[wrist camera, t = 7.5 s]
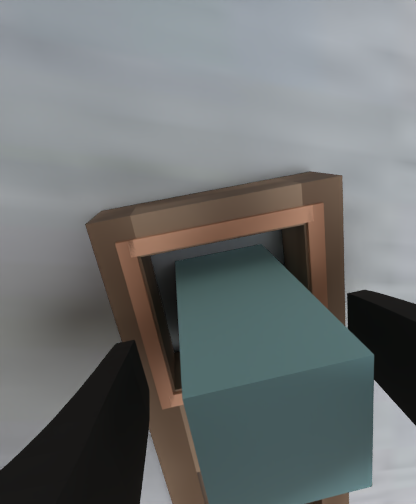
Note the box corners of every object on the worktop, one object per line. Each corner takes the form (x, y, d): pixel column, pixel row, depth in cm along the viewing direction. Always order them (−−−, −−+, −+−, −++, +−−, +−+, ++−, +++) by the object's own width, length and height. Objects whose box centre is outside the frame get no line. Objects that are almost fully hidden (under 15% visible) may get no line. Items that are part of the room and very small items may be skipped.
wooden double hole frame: (191, 520, 19) (194, 576, 16) (101, 210, 12) (84, 225, 10) (327, 485, 19) (350, 534, 17) (310, 171, 13) (344, 175, 10)
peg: (191, 336, 15) (214, 527, 7) (175, 261, 13) (182, 398, 6) (269, 318, 15) (371, 486, 7) (261, 244, 14) (374, 354, 6)
